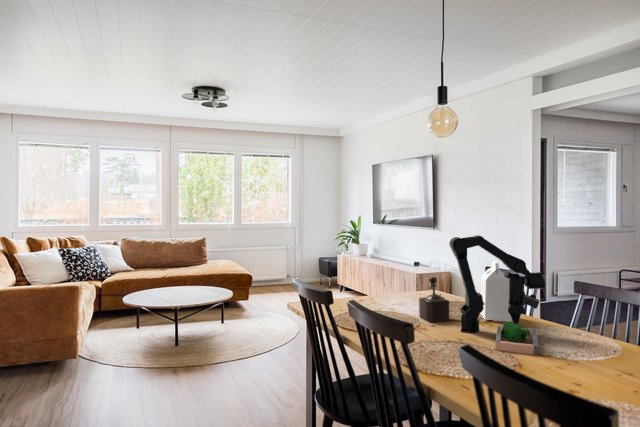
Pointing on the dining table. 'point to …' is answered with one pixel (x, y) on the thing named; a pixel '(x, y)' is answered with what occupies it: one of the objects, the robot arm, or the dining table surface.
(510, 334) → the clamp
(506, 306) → the milk
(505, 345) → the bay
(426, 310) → the dark brown stamp
